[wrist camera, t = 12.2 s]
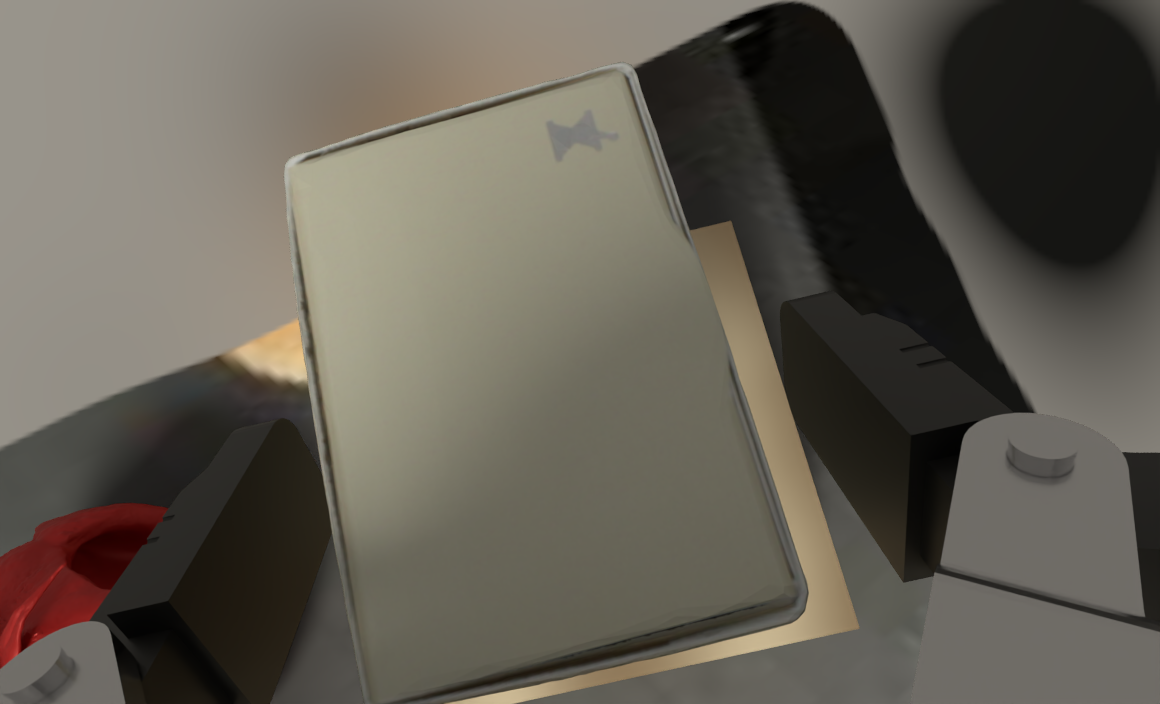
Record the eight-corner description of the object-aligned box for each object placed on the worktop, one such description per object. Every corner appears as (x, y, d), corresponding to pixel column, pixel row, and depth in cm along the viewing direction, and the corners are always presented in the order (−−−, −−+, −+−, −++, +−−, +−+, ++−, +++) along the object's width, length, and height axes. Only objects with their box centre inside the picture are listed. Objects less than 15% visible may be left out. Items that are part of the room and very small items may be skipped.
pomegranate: (323, 779, 21) (98, 977, 12) (42, 822, 22) (-378, 1044, 13) (310, 485, 24) (115, 469, 15) (58, 527, 24) (-282, 537, 15)
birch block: (713, 280, 24) (731, 220, 20) (809, 604, 21) (859, 628, 16) (415, 350, 25) (360, 309, 20) (463, 680, 21) (412, 725, 17)
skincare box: (497, 373, 19) (263, 129, 7) (636, 336, 19) (629, 25, 7) (546, 594, 17) (341, 746, 5) (700, 554, 17) (831, 619, 5)
